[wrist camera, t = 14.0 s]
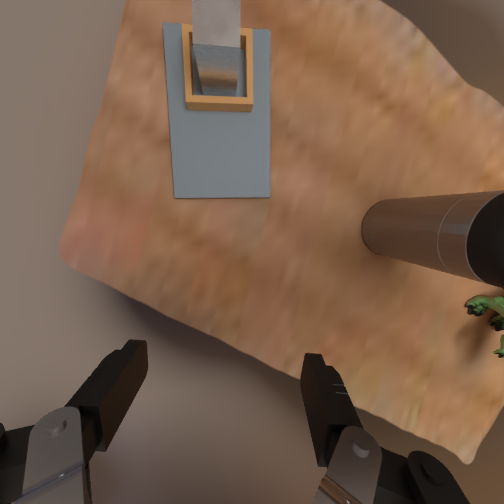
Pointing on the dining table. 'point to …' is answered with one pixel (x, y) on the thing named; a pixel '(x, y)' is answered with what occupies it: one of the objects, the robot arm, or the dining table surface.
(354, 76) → the dining table surface
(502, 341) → the toy
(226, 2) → the brushed metal pillar
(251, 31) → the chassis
